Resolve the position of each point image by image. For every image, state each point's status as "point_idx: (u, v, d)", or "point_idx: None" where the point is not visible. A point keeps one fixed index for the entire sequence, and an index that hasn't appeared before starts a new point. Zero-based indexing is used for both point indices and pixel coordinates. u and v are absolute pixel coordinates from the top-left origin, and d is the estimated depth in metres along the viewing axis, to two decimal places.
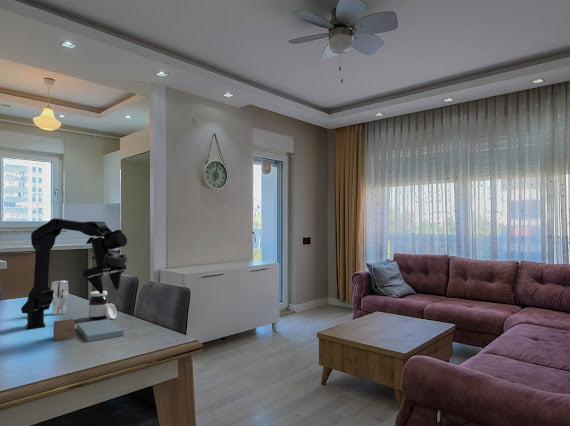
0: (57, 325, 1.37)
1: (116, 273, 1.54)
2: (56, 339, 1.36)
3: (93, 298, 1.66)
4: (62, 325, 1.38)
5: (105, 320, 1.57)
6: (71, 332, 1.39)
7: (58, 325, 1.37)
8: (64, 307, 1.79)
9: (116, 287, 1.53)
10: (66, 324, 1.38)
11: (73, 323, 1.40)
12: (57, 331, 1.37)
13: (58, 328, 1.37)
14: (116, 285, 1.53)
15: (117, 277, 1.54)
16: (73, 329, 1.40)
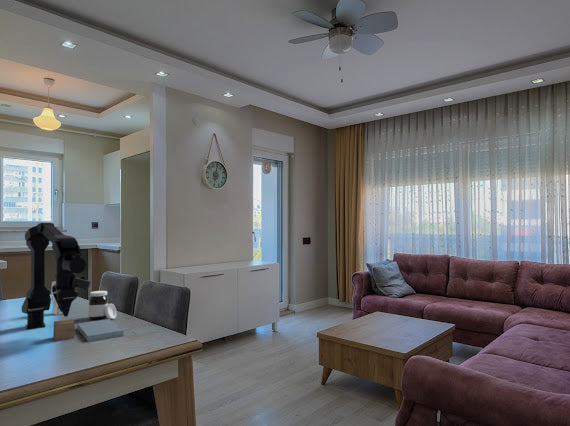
0: (57, 325, 1.37)
1: None
2: (56, 339, 1.36)
3: (93, 298, 1.66)
4: (62, 325, 1.38)
5: (105, 320, 1.57)
6: (71, 332, 1.39)
7: (58, 325, 1.37)
8: None
9: None
10: (66, 324, 1.38)
11: (73, 323, 1.40)
12: (57, 331, 1.37)
13: (58, 328, 1.37)
14: None
15: None
16: (73, 329, 1.40)
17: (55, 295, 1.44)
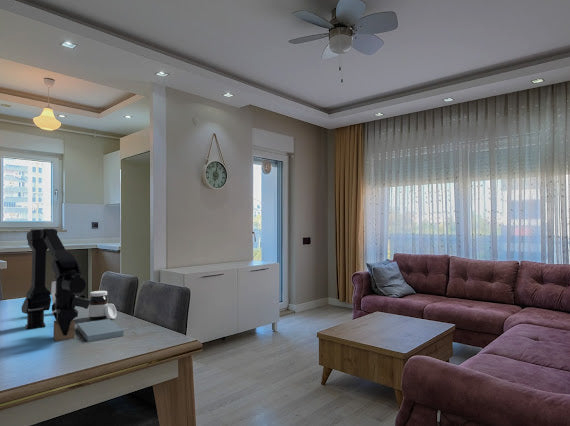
0: (57, 325, 1.37)
1: None
2: (56, 339, 1.36)
3: (93, 298, 1.66)
4: None
5: (105, 320, 1.57)
6: (71, 332, 1.39)
7: (58, 325, 1.37)
8: None
9: None
10: None
11: (73, 323, 1.40)
12: (57, 331, 1.37)
13: (58, 328, 1.37)
14: None
15: None
16: (73, 329, 1.40)
17: (55, 315, 1.42)
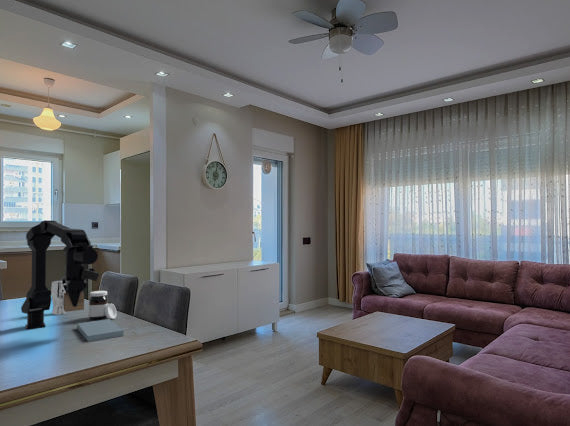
0: (67, 296, 1.39)
1: None
2: (66, 309, 1.38)
3: (93, 298, 1.66)
4: None
5: (105, 320, 1.57)
6: (81, 303, 1.41)
7: (68, 296, 1.39)
8: None
9: None
10: None
11: (82, 294, 1.42)
12: (67, 302, 1.39)
13: (68, 299, 1.39)
14: None
15: None
16: (82, 300, 1.42)
17: (65, 287, 1.44)
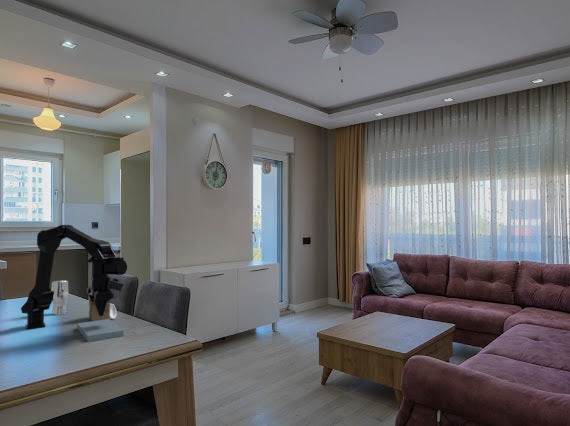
0: (94, 306, 1.44)
1: None
2: (93, 319, 1.44)
3: None
4: None
5: (105, 320, 1.57)
6: (107, 313, 1.47)
7: (95, 306, 1.44)
8: (64, 307, 1.79)
9: None
10: None
11: (108, 304, 1.47)
12: (94, 311, 1.44)
13: (95, 309, 1.44)
14: None
15: None
16: (108, 310, 1.47)
17: (91, 297, 1.50)
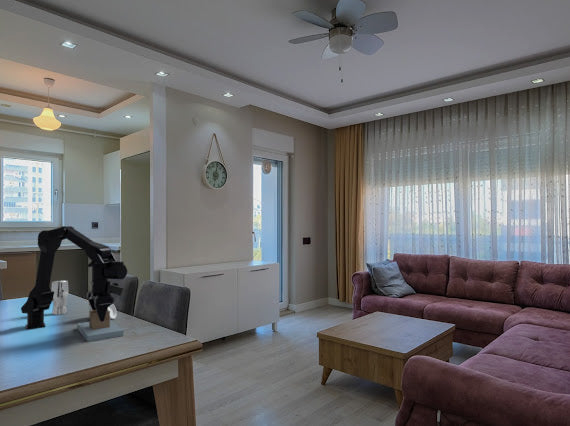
0: (94, 314, 1.44)
1: None
2: (93, 327, 1.44)
3: None
4: None
5: None
6: (107, 321, 1.47)
7: (95, 314, 1.44)
8: (64, 307, 1.79)
9: None
10: None
11: (108, 312, 1.47)
12: (94, 320, 1.44)
13: (95, 317, 1.44)
14: None
15: None
16: (108, 318, 1.47)
17: (90, 301, 1.51)
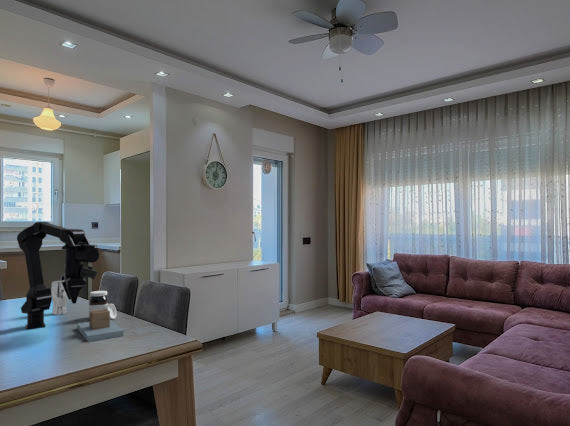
0: (94, 314, 1.44)
1: None
2: (93, 327, 1.44)
3: (93, 298, 1.66)
4: (98, 314, 1.45)
5: None
6: (107, 321, 1.47)
7: (95, 314, 1.44)
8: (64, 307, 1.79)
9: (70, 297, 1.52)
10: (102, 313, 1.46)
11: (108, 312, 1.47)
12: (94, 320, 1.44)
13: (95, 317, 1.44)
14: None
15: None
16: (108, 318, 1.47)
17: (63, 283, 1.52)
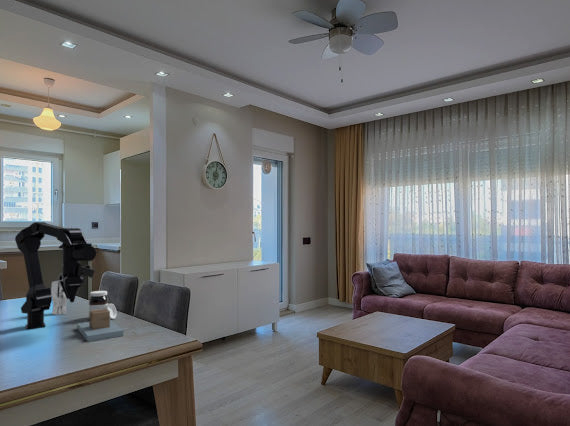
0: (94, 314, 1.44)
1: None
2: (93, 327, 1.44)
3: (93, 298, 1.66)
4: (98, 314, 1.45)
5: None
6: (107, 321, 1.47)
7: (95, 314, 1.44)
8: (64, 307, 1.79)
9: (68, 296, 1.52)
10: (102, 313, 1.46)
11: (108, 312, 1.47)
12: (94, 320, 1.44)
13: (95, 317, 1.44)
14: None
15: None
16: (108, 318, 1.47)
17: (61, 283, 1.52)
